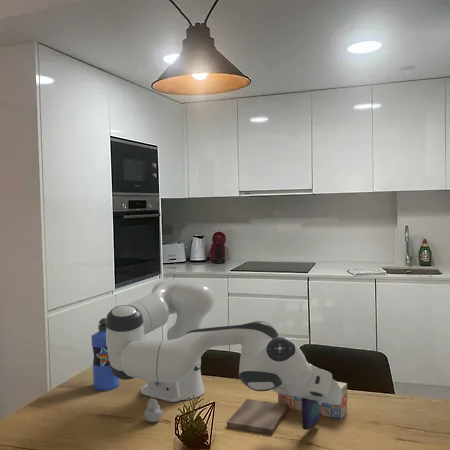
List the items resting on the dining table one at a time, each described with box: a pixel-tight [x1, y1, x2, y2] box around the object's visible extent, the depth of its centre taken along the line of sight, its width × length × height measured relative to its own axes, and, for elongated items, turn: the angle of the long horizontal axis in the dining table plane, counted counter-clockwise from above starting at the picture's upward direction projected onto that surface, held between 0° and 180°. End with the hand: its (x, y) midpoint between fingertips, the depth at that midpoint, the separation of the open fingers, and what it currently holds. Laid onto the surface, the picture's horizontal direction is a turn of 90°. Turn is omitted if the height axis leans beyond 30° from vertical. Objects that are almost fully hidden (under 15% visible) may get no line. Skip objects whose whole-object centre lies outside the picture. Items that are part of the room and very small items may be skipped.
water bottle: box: [91, 317, 120, 392], centre depth 178 cm, size 9×9×25 cm
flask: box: [301, 398, 321, 431], centre depth 140 cm, size 9×3×11 cm, turn 146°
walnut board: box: [226, 398, 290, 435], centre depth 149 cm, size 14×18×2 cm
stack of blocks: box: [277, 380, 348, 420], centre depth 155 cm, size 21×6×12 cm, turn 57°
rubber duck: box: [143, 397, 163, 423], centre depth 149 cm, size 5×7×8 cm
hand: (312, 400), depth 140 cm, fingers closed on flask, 3 cm apart
